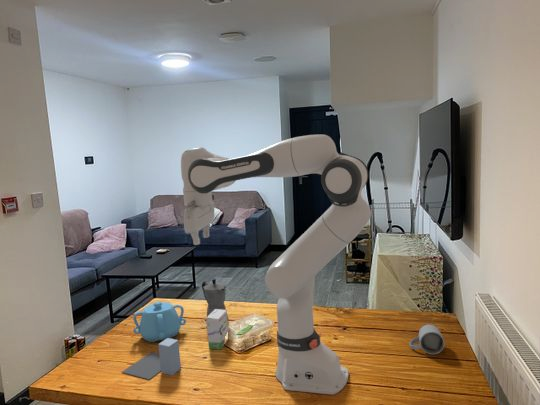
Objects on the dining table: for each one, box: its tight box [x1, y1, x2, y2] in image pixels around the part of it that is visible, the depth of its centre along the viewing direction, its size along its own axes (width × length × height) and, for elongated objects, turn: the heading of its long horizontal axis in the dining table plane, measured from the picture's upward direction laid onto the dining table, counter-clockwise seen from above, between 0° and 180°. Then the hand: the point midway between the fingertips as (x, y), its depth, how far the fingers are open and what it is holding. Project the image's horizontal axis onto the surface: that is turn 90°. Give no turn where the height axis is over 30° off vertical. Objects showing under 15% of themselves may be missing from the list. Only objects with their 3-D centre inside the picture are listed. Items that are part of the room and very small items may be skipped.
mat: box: [121, 351, 161, 381], centre depth 140 cm, size 12×14×1 cm
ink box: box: [205, 309, 229, 350], centre depth 151 cm, size 8×5×12 cm, turn 164°
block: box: [158, 338, 182, 376], centre depth 135 cm, size 4×4×10 cm
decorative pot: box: [133, 300, 187, 343], centre depth 161 cm, size 16×16×14 cm
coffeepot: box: [201, 278, 229, 320], centre depth 171 cm, size 15×9×18 cm, turn 44°
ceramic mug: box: [408, 324, 446, 355], centre depth 139 cm, size 11×8×8 cm
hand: (201, 240), depth 134 cm, fingers open, 8 cm apart
